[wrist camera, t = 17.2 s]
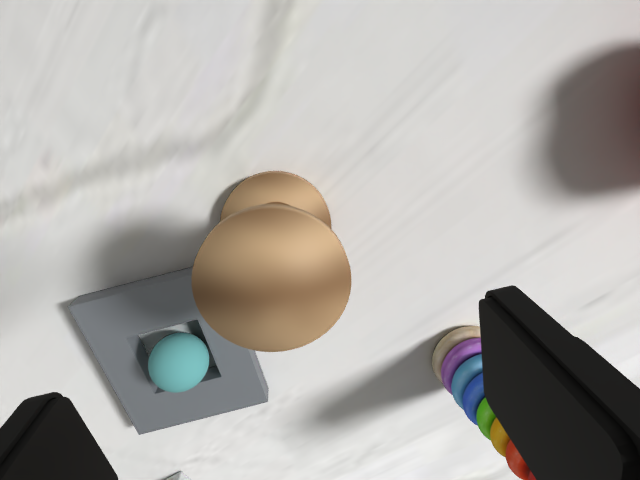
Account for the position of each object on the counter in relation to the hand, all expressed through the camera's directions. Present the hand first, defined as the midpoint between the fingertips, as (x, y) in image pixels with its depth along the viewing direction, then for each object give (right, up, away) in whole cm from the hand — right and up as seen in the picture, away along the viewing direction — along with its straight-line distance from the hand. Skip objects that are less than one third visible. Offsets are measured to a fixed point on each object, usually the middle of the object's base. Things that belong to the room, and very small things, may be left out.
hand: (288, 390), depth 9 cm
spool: (-3, +5, +27) cm, 28 cm away
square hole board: (-14, -7, +31) cm, 34 cm away
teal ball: (-14, -7, +31) cm, 34 cm away
